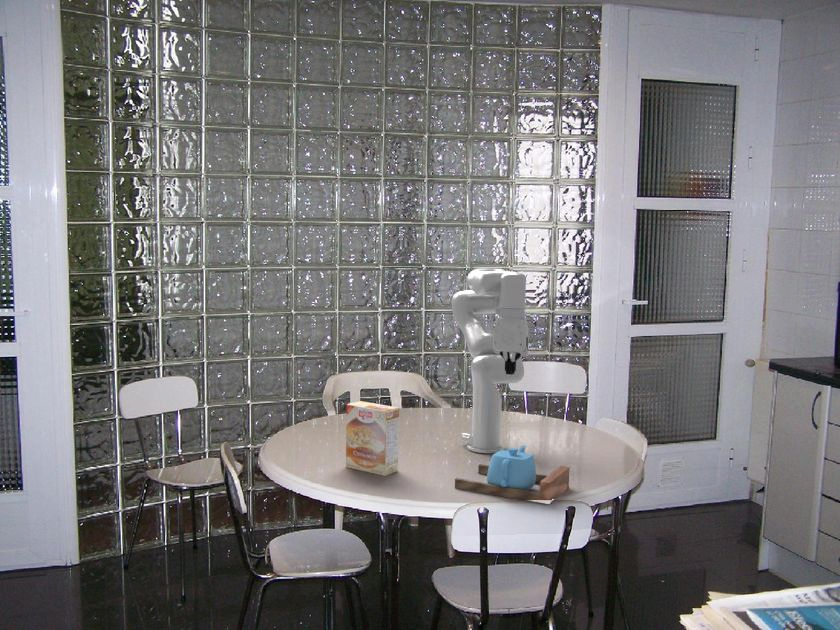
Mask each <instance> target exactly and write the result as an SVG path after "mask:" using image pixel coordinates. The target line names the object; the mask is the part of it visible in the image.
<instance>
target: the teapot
mask: <svg viewBox="0 0 840 630" xmlns="http://www.w3.org/2000/svg"><path fill="white" fill-rule="evenodd" d="M525 450H526V445H525V444H523V445H521V446H520V447H519V449H518V448H516V447H510V448H508V450H500V451H498V452H496V453H492V454H491V455H492V456H491V458H490V462H489V469H488V474H487V476H486V481H487V482H486V483H488V484H494V485H499V486H502V487H510V488H516V489H522V490H527V491H531V489H532V488H533V487H534V486H535V484H536V483H535V482H536V474H537V467H536V461H535V457H534V455H533V454H532V453H527V452H525Z"/></svg>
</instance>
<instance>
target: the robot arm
mask: <svg viewBox="0 0 840 630" xmlns="http://www.w3.org/2000/svg"><path fill="white" fill-rule="evenodd" d="M467 275H468V276H466V285H467V286H468V288H469V289H466V290H460V291H458V292H456V293H455V294H454V295H453V296H452V298H451V310H452V311H451V313H452V315H453V318H454V321H455V322H456V324H457V326H458V328H459V329H460V330H461V333H463V336H464V341H465V344H466V346H467V349H468V353H469V354H470V356H471V358H472V361H471V363H470V371H471V382H472V415H471V416H472V418H471V433H465V432H462V433H461V435H460V438H461V441H467V442H468V443H467V444H466V449H467V450H468V451H471V452H473V453H479V454H495V453H496V452H498V451H500V450H505V447H506V446H505V445H504V444H503V443H501V433H502V432H501V427H502V403H503V401H502V399H503V398H502V395H501V393H500V391H499V390H498V389H497V387H496V385H499V384H516V383H520V382H521V381H522V380H523V378H524V375H525V365H524V362H523V359H522V357H526V356H528V355H529V351H528V350H529V342H530V341H529V340H530V339H529V338H530V337H529V327H528V319H527V318H526V317H525V315H526V293H527V292H526V289H527V288H526V287H527V286H526V285H527V278H526V277H527V276H526V275H525V274H523V273H522V272H521V273H519V272H518V271H514V270H513V271H510V270H506V269H504V268H486V267H485V268H482V267H479V268H476V269H475V268H474V269H473V270H471V272H469V273H468V274H467ZM494 314H498V316H499V317H496V321H495V325H494V331H493V332H490V331H489V330H488V329H489V328H488V327H487V324H486V323H485V322H484V321H483V320H482V319H481V318H480V317H478V316H477V315H494Z"/></svg>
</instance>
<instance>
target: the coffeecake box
mask: <svg viewBox="0 0 840 630" xmlns="http://www.w3.org/2000/svg"><path fill="white" fill-rule="evenodd" d="M345 430H346V431H345V432H346V433H345V435H346V437H345V438H346V439H345V467H346V468H347V469H353V470H357V471H361V472H366V473H370V474H374V475H378V476H383V477H386V476H390V475H391V474H393V473H396V472H398V471H399V444H400V443H399V442H400V441H399V434H400V407H397V406H392V405H391V406H390V405H386V404H379V403H373V402H368V401H362V400H359V401H354V402H349V403H346V429H345Z"/></svg>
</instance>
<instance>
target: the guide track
mask: <svg viewBox="0 0 840 630" xmlns="http://www.w3.org/2000/svg"><path fill="white" fill-rule="evenodd" d="M489 465H490V464H489ZM489 465H487V464H481V463H479V464H478V465H477V467H478V468H477V469H478V470H477V471H478V472H477V473H478V474H482V475H487V474H488V469H489ZM535 484H539V486H540V487H539V492H538V491H532V490H529V491H527V490H522V489H516V488H510V487H502V486H499V485H494V484H488V482H482V481H477V480H472V479H471V480H470V479H464V478H461V477H460V478H459V477H456V478H454V488H456V489H460V490H466V491H471V492H477V493H482V494H485V495H486V494H487V495H493V496H498V497H503V498H509V499H515V500H520V501H524V500H552V499H555V500H556V499H557V498H559V496H561V495H562V494H563V493H564V492H565V491H567V490H568V489H569V488H570V487H569V485H570V466H565V465H560V466H558V467H557V468H556V469H555V470H553V471H552V472H550V474H547V475H546V474H541V473H536V482H535Z"/></svg>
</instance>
